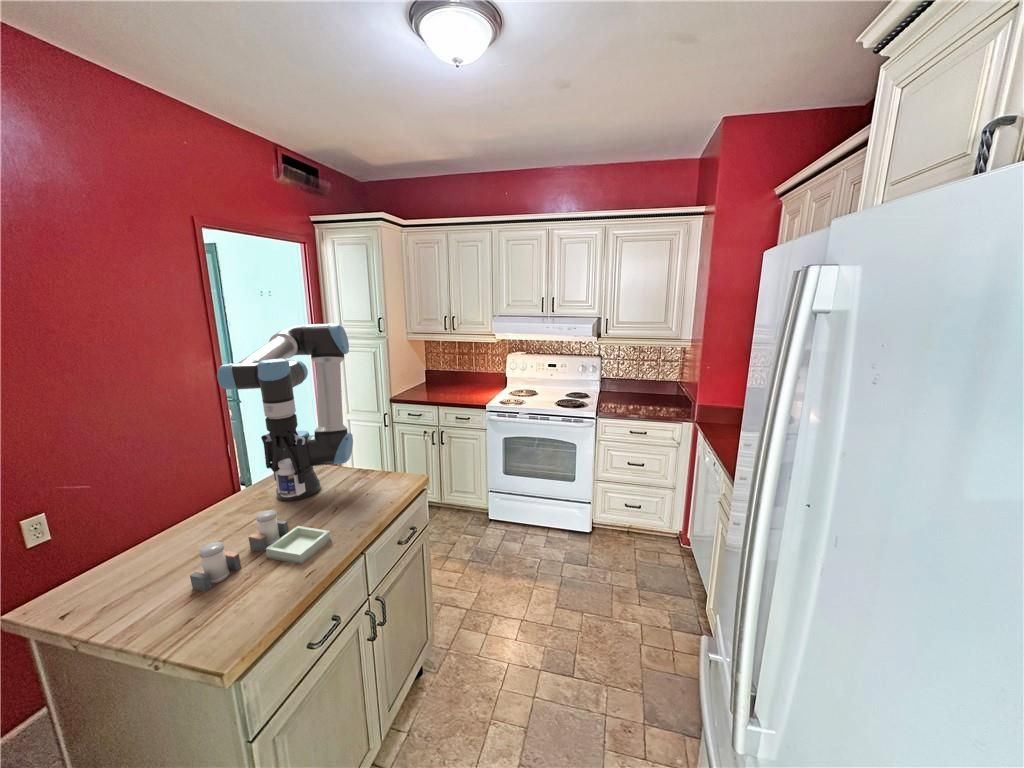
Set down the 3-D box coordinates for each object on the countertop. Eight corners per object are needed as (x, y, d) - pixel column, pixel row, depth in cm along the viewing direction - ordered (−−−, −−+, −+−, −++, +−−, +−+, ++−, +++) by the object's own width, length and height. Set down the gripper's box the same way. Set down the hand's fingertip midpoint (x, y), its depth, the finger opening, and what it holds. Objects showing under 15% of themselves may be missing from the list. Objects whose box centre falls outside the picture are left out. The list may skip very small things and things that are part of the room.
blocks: (277, 530, 128) (275, 518, 127) (289, 532, 127) (287, 520, 126) (192, 589, 103) (189, 574, 102) (205, 592, 102) (202, 577, 101)
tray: (298, 534, 126) (297, 525, 125) (330, 539, 123) (329, 530, 122) (267, 557, 115) (265, 548, 114) (301, 564, 112) (300, 554, 111)
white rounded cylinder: (220, 569, 110) (213, 540, 108) (234, 572, 108) (228, 543, 107) (200, 582, 105) (193, 552, 103) (215, 585, 104) (208, 555, 102)
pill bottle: (293, 498, 112) (288, 465, 110) (275, 497, 113) (270, 464, 111) (307, 489, 117) (303, 457, 115) (290, 487, 118) (286, 456, 116)
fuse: (270, 534, 126) (266, 509, 124) (284, 537, 125) (280, 511, 123) (256, 544, 121) (251, 517, 119) (270, 547, 120) (265, 520, 118)
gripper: (241, 417, 109) (254, 494, 114) (298, 421, 104) (309, 502, 109) (265, 409, 116) (276, 482, 121) (318, 413, 111) (328, 489, 116)
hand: (291, 491), depth 115 cm, fingers closed on pill bottle, 6 cm apart
